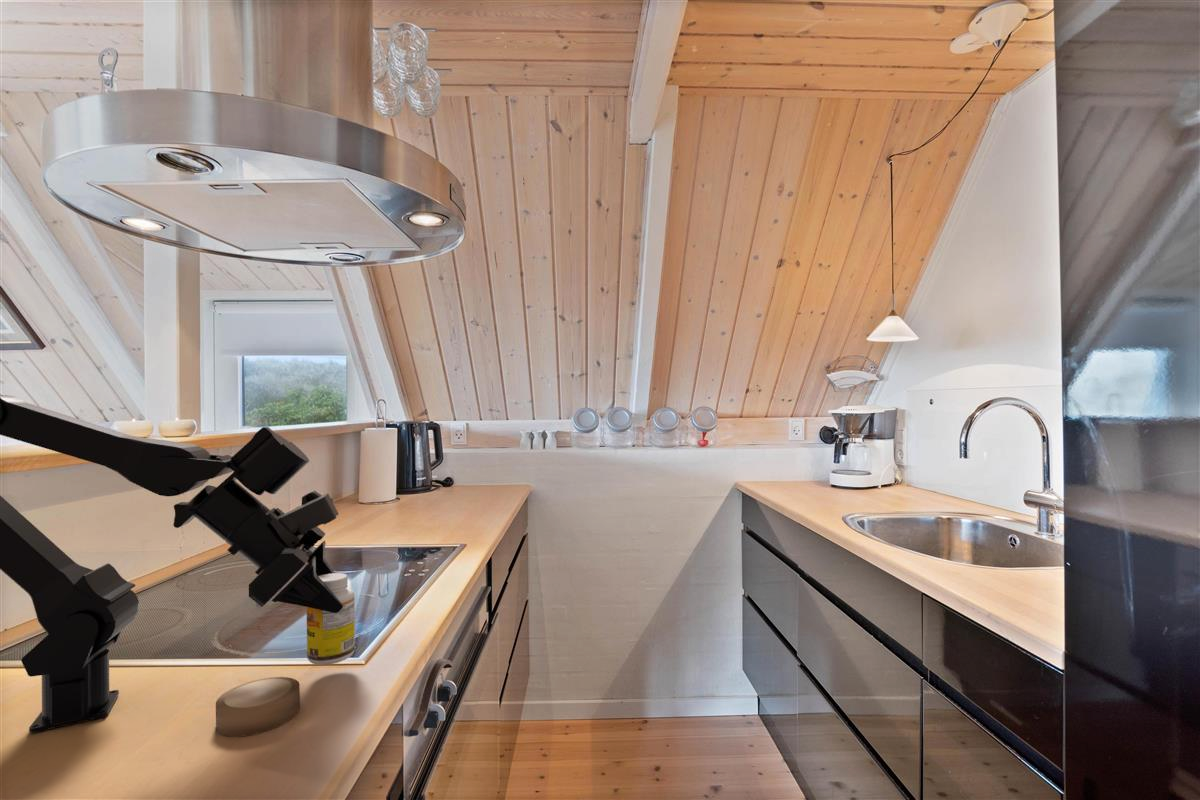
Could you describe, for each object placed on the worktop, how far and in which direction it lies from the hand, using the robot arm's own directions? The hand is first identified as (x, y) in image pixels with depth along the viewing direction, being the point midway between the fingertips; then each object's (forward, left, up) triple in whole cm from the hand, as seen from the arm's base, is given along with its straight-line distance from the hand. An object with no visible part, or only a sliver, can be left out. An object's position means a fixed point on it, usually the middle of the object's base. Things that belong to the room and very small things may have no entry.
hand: (342, 602), depth 75 cm
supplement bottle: (0, -1, -7) cm, 7 cm away
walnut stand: (+7, -9, -9) cm, 15 cm away
